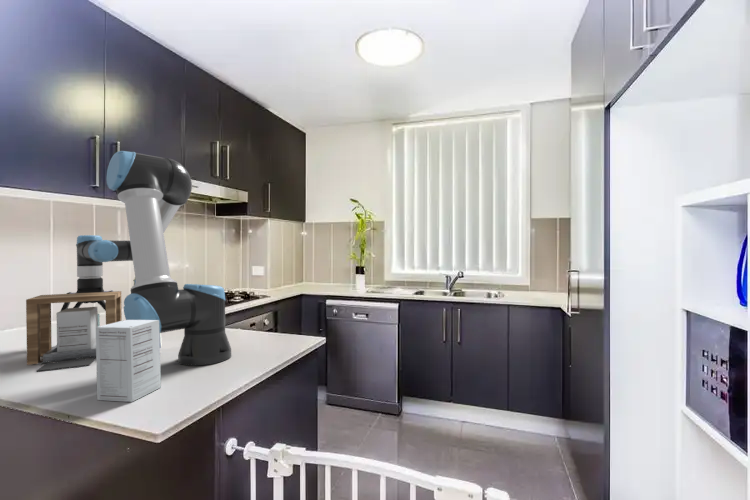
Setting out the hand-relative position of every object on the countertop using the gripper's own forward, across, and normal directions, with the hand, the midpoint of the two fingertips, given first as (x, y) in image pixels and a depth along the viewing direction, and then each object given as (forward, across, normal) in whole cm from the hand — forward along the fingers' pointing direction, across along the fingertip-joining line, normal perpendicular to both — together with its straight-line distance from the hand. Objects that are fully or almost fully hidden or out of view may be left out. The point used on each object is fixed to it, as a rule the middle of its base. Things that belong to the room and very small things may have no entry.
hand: (90, 337), depth 138 cm
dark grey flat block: (+2, 0, +29) cm, 29 cm away
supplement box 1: (+2, 0, +17) cm, 17 cm away
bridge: (+2, 0, +17) cm, 17 cm away
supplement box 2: (+2, -20, +64) cm, 67 cm away
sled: (+2, 0, +11) cm, 11 cm away
